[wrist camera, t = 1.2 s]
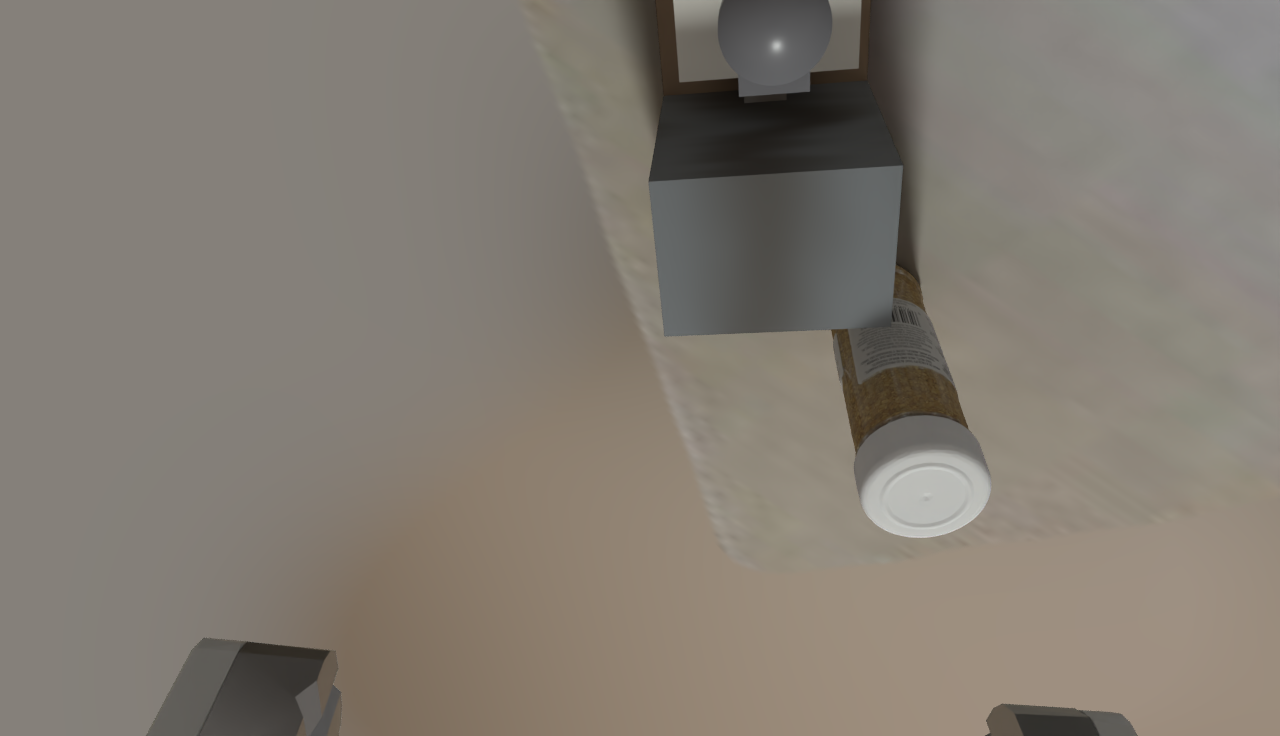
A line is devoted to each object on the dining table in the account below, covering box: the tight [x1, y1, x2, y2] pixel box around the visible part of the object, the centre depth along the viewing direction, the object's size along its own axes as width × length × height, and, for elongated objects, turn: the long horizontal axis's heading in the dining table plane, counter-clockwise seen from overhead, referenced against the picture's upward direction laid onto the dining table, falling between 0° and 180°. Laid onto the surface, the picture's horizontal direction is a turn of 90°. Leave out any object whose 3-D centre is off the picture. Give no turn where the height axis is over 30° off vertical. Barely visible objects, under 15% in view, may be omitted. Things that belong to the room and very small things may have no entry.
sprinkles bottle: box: [831, 265, 991, 538], centre depth 36 cm, size 5×5×13 cm
